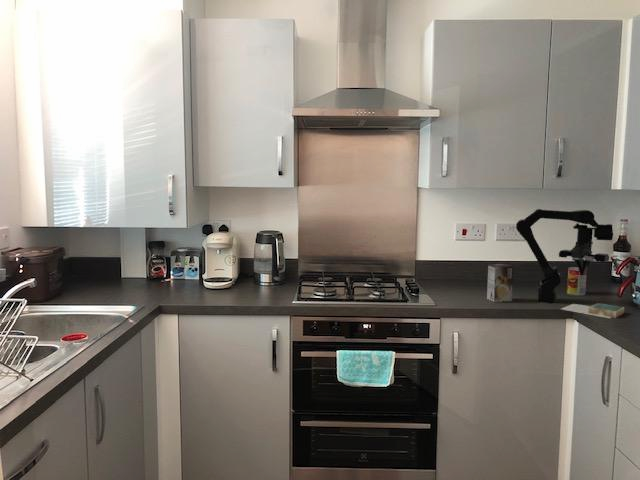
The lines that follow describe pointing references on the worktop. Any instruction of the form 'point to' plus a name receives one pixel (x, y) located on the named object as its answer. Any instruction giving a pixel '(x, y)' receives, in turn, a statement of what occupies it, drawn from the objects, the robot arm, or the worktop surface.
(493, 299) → the coffee box
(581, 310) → the mat
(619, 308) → the plaque
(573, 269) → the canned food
